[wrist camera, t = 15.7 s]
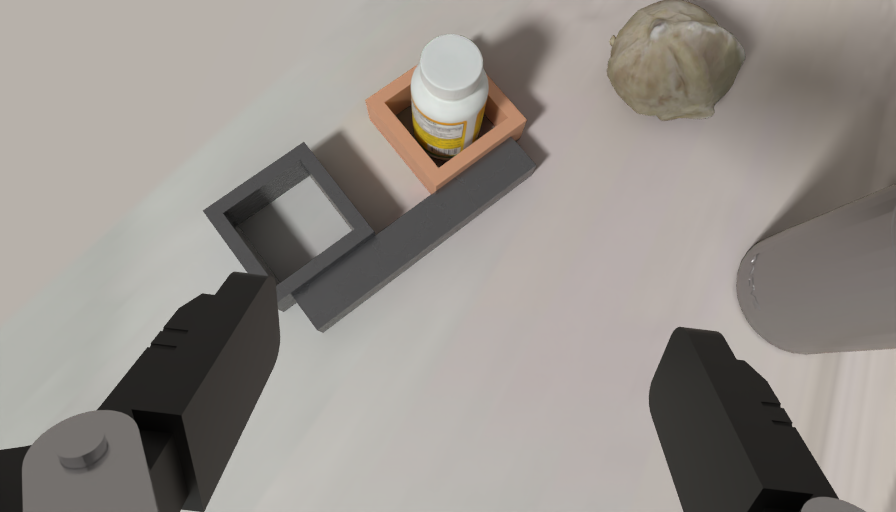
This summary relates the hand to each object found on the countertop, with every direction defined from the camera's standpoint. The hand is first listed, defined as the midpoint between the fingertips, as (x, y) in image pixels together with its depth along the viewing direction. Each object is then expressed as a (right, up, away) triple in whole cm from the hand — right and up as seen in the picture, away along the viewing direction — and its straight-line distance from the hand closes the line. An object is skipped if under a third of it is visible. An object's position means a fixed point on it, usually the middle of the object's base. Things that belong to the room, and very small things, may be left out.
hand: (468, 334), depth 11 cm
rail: (-6, +6, +31) cm, 32 cm away
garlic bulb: (+16, +15, +34) cm, 40 cm away
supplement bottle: (-1, +12, +32) cm, 34 cm away
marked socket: (-1, +12, +32) cm, 34 cm away
